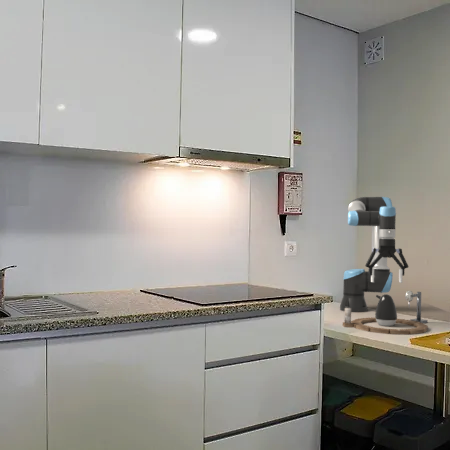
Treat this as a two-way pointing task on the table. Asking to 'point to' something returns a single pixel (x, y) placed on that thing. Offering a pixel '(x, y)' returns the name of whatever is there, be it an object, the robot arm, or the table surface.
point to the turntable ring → (359, 325)
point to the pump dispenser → (386, 311)
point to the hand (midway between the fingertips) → (386, 282)
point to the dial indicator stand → (409, 297)
